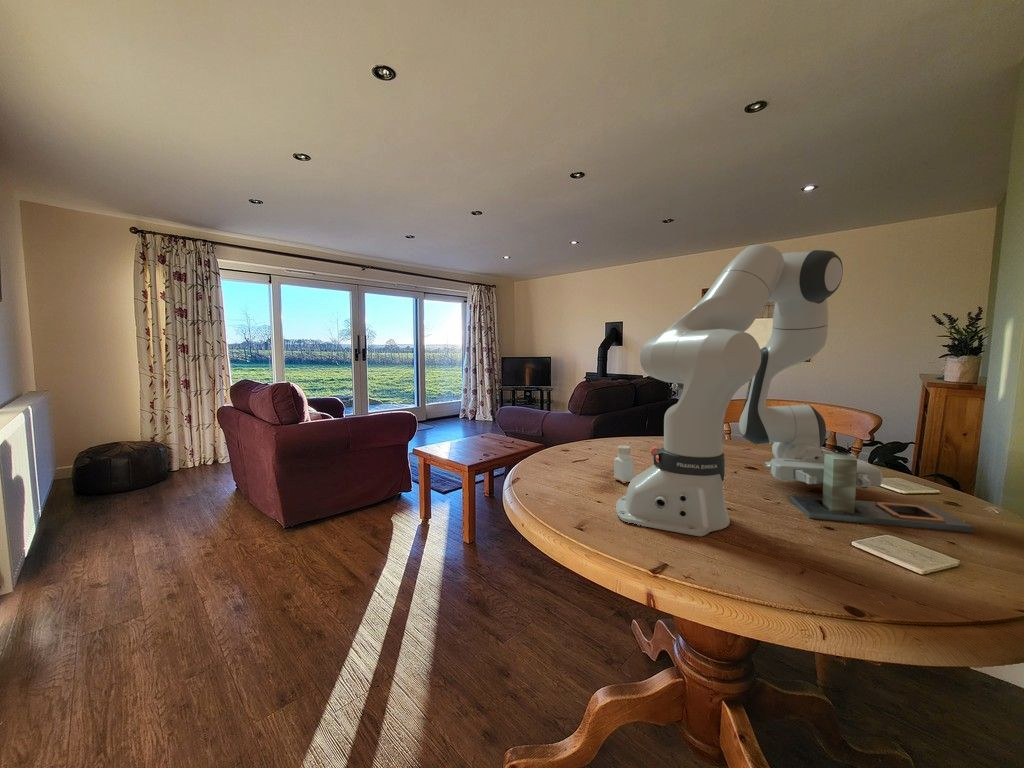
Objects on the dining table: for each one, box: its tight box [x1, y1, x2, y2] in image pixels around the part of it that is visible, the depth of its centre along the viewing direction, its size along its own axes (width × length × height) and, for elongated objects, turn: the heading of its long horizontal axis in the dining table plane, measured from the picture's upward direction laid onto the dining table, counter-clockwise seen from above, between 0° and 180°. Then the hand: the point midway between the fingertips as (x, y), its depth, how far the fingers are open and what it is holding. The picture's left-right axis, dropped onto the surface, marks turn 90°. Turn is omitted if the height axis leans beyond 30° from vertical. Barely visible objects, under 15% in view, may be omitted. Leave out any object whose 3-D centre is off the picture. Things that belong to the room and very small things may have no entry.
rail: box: [789, 495, 975, 534], centre depth 81 cm, size 26×10×2 cm, turn 73°
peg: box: [822, 454, 857, 513], centre depth 83 cm, size 4×4×12 cm
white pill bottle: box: [613, 444, 635, 481], centre depth 105 cm, size 4×4×10 cm
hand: (839, 482), depth 82 cm, fingers open, 8 cm apart
